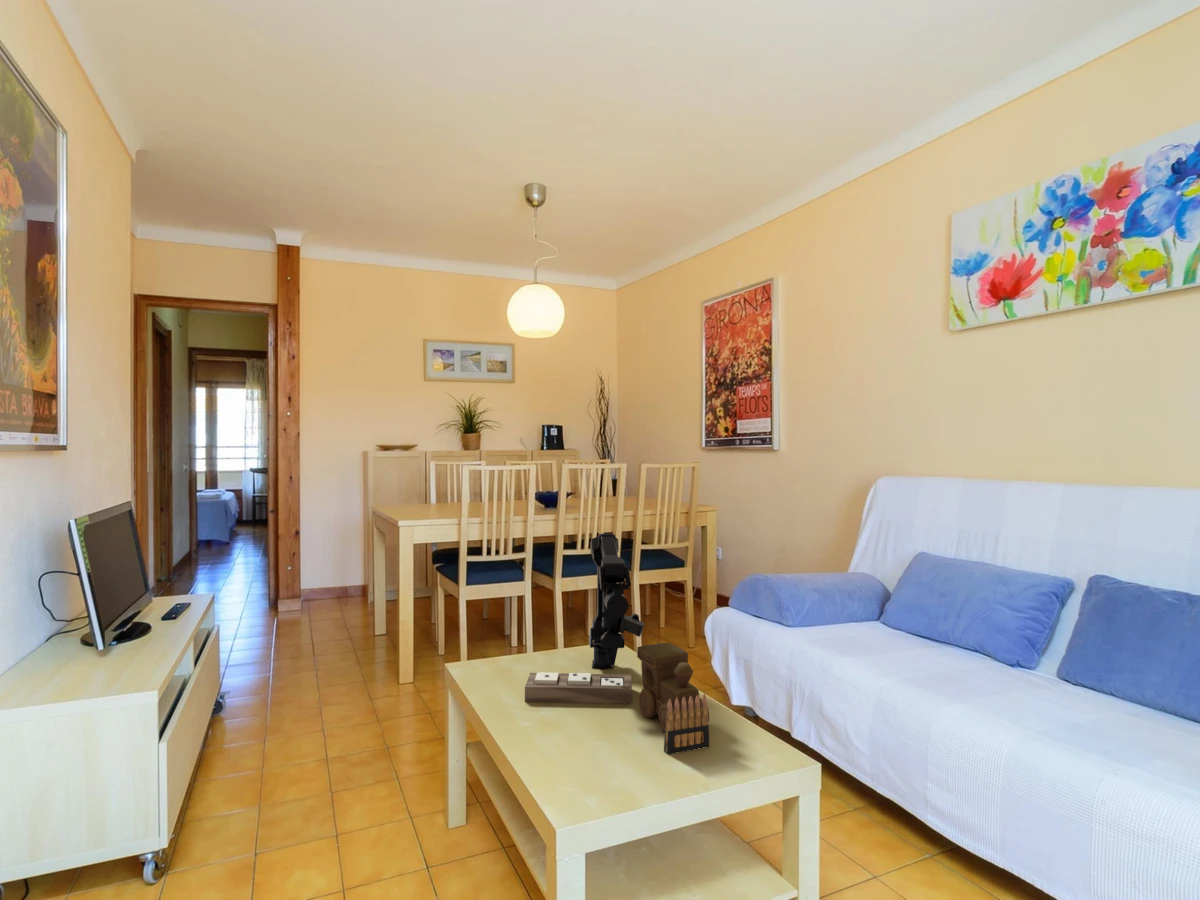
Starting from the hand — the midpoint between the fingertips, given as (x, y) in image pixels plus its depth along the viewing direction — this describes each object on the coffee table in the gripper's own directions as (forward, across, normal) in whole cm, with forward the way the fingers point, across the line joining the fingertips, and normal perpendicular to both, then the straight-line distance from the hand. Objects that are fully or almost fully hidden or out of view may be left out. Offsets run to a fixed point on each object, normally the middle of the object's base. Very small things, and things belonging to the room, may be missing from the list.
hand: (612, 664), depth 177 cm
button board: (+9, 0, +9) cm, 12 cm away
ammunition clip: (+9, -31, -17) cm, 36 cm away
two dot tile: (+6, 0, +9) cm, 11 cm away
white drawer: (+6, 0, +18) cm, 19 cm away
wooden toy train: (+9, -16, -15) cm, 24 cm away
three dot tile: (+7, 0, 0) cm, 7 cm away
